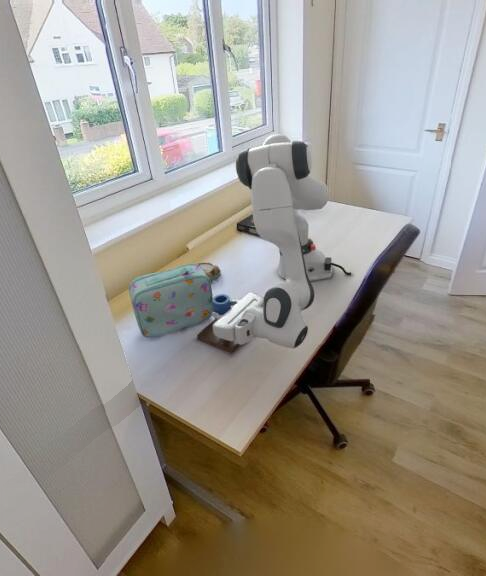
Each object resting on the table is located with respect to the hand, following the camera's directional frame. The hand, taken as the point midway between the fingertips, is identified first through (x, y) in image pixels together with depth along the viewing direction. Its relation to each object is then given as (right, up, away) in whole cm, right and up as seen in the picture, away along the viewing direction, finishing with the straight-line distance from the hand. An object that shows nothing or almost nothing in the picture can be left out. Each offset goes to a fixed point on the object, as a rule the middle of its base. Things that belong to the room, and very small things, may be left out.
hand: (219, 307), depth 125 cm
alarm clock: (-11, +11, +37) cm, 40 cm away
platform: (+1, -10, +6) cm, 11 cm away
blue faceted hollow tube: (+1, -5, +3) cm, 5 cm away
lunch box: (-16, -6, +13) cm, 21 cm away
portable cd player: (+10, +36, +74) cm, 84 cm away
